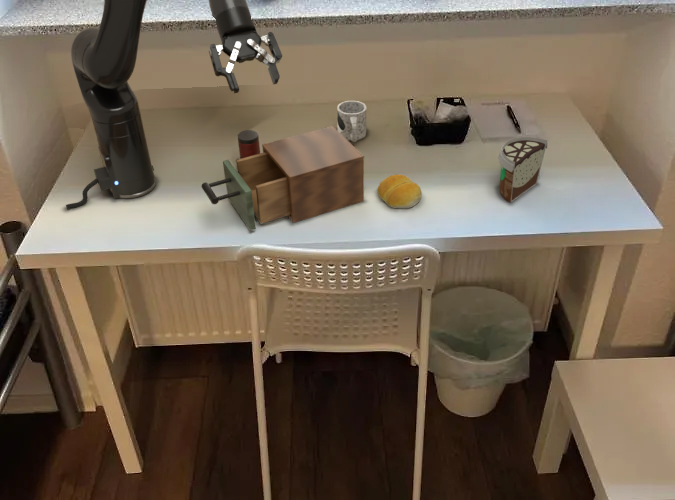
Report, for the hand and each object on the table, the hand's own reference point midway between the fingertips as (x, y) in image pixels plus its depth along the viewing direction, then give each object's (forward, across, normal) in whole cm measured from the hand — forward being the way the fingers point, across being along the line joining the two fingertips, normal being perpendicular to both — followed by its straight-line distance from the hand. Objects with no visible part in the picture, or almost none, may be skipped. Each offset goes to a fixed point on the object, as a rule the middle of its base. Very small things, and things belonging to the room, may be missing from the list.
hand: (256, 87), depth 145 cm
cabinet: (+25, +4, 0) cm, 25 cm away
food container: (+37, +41, -12) cm, 56 cm away
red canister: (+13, -3, +12) cm, 18 cm away
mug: (+13, +22, +12) cm, 28 cm away
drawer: (+24, -8, -1) cm, 25 cm away
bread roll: (+31, +19, -6) cm, 37 cm away
